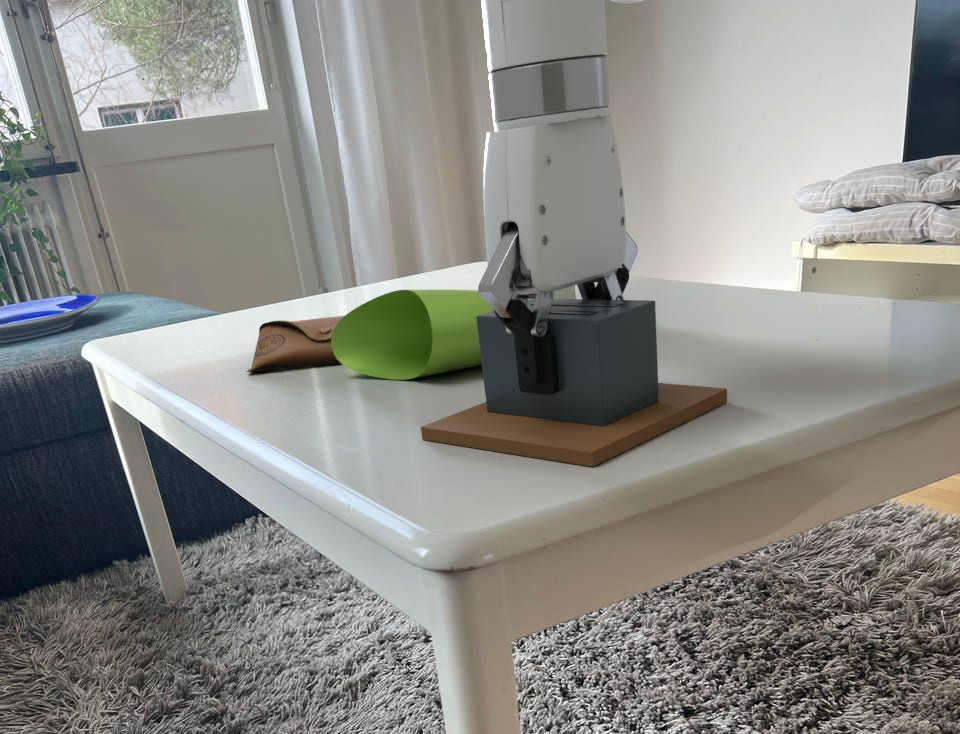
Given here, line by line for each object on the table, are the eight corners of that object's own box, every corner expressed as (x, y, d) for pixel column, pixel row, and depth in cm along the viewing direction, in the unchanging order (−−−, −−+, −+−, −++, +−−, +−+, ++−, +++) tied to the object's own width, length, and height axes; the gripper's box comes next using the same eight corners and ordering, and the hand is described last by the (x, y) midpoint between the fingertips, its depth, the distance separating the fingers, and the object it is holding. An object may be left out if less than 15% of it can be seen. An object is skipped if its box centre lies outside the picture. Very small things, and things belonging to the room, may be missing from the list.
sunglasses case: (241, 371, 102) (238, 309, 102) (264, 391, 109) (261, 333, 109) (411, 353, 99) (407, 289, 100) (423, 375, 106) (419, 316, 107)
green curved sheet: (346, 288, 82) (567, 270, 87) (325, 302, 93) (521, 285, 98) (359, 384, 84) (574, 361, 89) (337, 387, 95) (528, 366, 100)
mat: (727, 401, 71) (727, 388, 71) (593, 467, 62) (592, 452, 61) (559, 386, 82) (558, 374, 81) (422, 439, 72) (420, 426, 72)
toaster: (475, 410, 74) (463, 315, 71) (531, 389, 78) (522, 297, 75) (604, 426, 66) (597, 319, 63) (659, 401, 70) (655, 299, 67)
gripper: (587, 96, 70) (603, 350, 78) (412, 116, 59) (451, 406, 68) (676, 82, 65) (683, 354, 73) (501, 102, 54) (532, 416, 63)
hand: (571, 377), depth 70 cm, fingers closed on toaster, 6 cm apart
